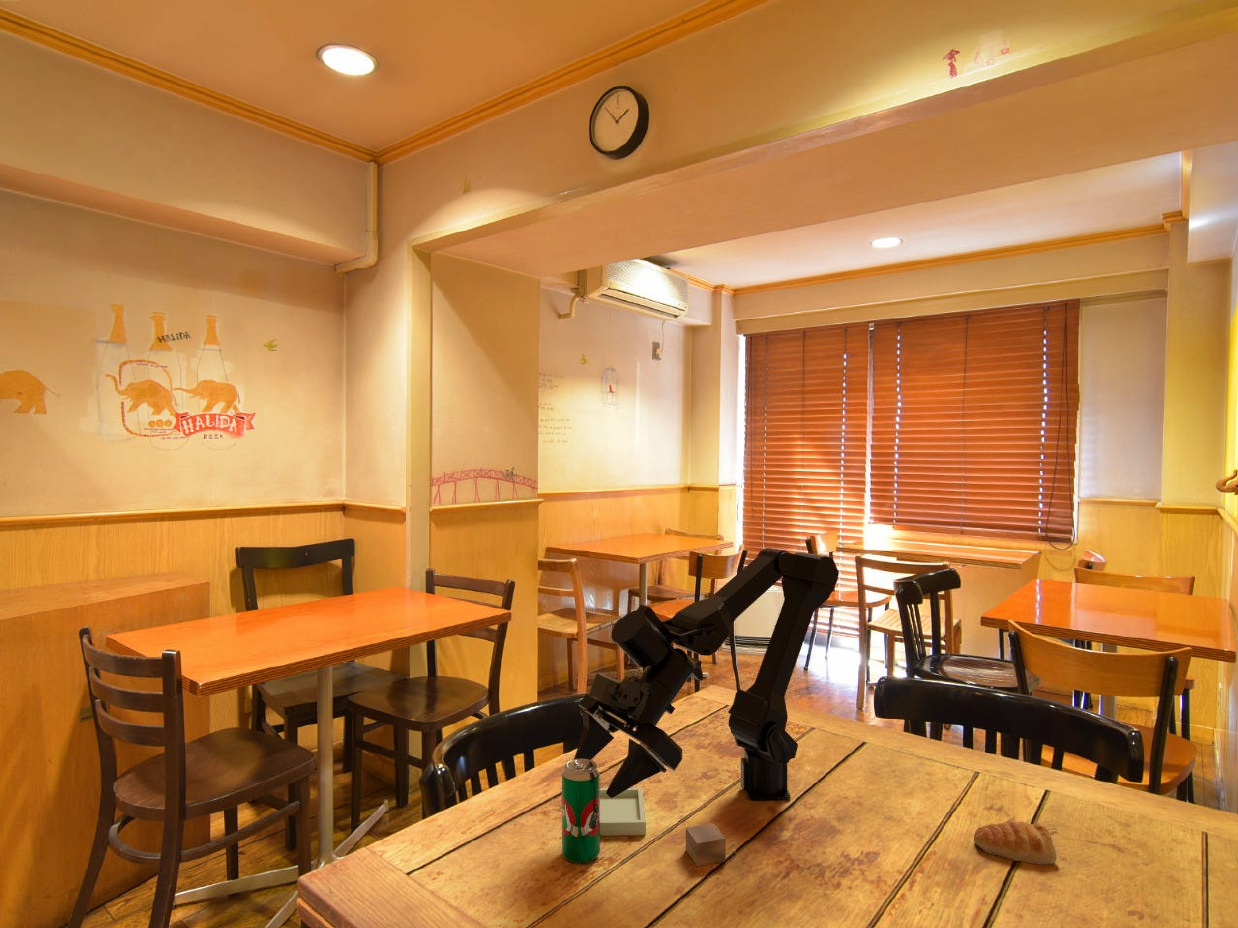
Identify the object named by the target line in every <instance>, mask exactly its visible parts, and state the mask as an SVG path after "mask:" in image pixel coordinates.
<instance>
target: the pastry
mask: <svg viewBox="0 0 1238 928" xmlns="http://www.w3.org/2000/svg"><path fill="white" fill-rule="evenodd" d="M973 842H974V843H975V844H976V846H978V847H979V848H980V849H981V850H983V851H984V852H986V853H988V854H989V855H994V856H998V855H999V857H1001V856H1002V857H1001V858H1005V859H1009V860H1011V861H1015V862H1018V861H1019V862H1024V863H1031V864H1039V865H1053V864H1054V863H1055V862H1056V861H1057V859H1058V858H1057V851H1056V847H1055V845H1054V843H1053V842H1054V841H1053V839H1052V835H1051V833H1050V831H1049V829H1048V828H1047V826H1046V825H1043V824H1041V823H1040V822H1035V823H1028V822H1024V821H1017V820H1013V819H1011V820H1007V821H1005V822H1001V823H997V824H995V823H991V824H988V825H983V826H980V827H978V828H976V830H975V831H974V834H973Z"/></svg>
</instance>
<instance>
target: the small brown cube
mask: <svg viewBox="0 0 1238 928" xmlns="http://www.w3.org/2000/svg"><path fill="white" fill-rule="evenodd" d="M726 843H727V842H726V837H725V836H724V835H723V834H722V832H720V830H719V829H718V827H717V826H716V825H715V824H714V823H708V824H701V825H695V826H689V827H688V826H687V827H685V851H686V853H687V854H688V855H689V857H690V858H691V860H692V862H693V863H694V864H695V866H696V867H700V866H701V865H702V866H707V865H708V866H709V865H712V864H713V865H714V864H720V863H724V862H726V860H727V859H726V851H727V849H726V846H727V845H726Z"/></svg>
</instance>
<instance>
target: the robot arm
mask: <svg viewBox="0 0 1238 928" xmlns="http://www.w3.org/2000/svg"><path fill="white" fill-rule="evenodd" d="M780 579H781V588H782V593H783V599H784V600H783V603H782V606H781V609H780V611H779V614H778V617H777V620H776V622H775V626H774V628H773V631H772V634H771V636H770V639H769V643H768V645H767V648H766V650H765V654H764V656H763V659H762V660H761V661H762V662H761V664H760V667H759V670H758V672H757V675H756V678H755V681H754V683H753V684H752V685H751V686H750V687H748V688H747V689H746V690H743V689H740V688H738V689H737V691H736V692H735V695H734V700H733V702H732V705H731V708H729V710H728V712H727V713H728V714H729V718H728V727H729V729H730V733H731V734H732V736H733V738H734V740H735V744H736V746H737V747H739V748H742V749H743V757H741V758H740V784H741V787H742V789H743V791H745V794H746V795H747V798H748V800H753V801H754V800H755V801H756V800H757V801H759V800H760V801H764V800H765V801H767V800H770V801H771V800H776V801H777V800H791V794H790V792H789V790H788V763H790V760H792V759H795V758H796V755H797V751H798V748H799V743H798V742H797V741H796V740H795V739H794V738H793V737H792V736H791V735H790V734H789V733H788V731H786V727H787V722H788V720H789V718H788V717H789V716H788V710H787V703H786V698H785V697H786V693H787V690H788V687H789V684H790V682H791V680H792V679H791V678H792V676H793V673H794V670H795V668H796V664H797V661H798V658H799V656H800V652H801V650H802V647H803V644H804V641H805V638H806V636H807V633H808V629H809V627H810V624H811V620H812V618H813V616H814V613H815V611H816V610H817V609H818V608H819V607H821V606H822V605H823V604H824V603H826V601H827V600H828V599H829V598H830V597H831V594H832V592H833V591H834V589H835V586H836V584H837V582H838V579H839V569H838V567H837V564H836V561H834V559H833V558H832V557H830V556H827V555H822V554H816V553H807V552H802V551H800V552H799V551H797V552H795V553H793V552H789V551H788V550H786V549H778V548H772V547H766V548H763V549H761V550H760V551H759V552H758V553H757V556H756V557H755V558H754V559H753V560H752V561H751V562H750V563H749V564H747V565H746V566H745V567H744V568H743V569H741V570H740V571H739V572H738V573H737V574H736V575H734V576H733V577H732V578H731V579H730V580H729V581H727V582H726V584H724V585H723V586H722V587H720V589H718V591H716V592H715V593H714V594H713V595H711V596H709V597H707V598H704V599H700V600H697V601H694V602H691V603H690V604H689V605H686V606H685V607H683V608H682V609H680V610H678V611H677V612H676V613H675V614H674V615H673V616H672V617H671V618H668V619H665V620H661V619H660V618H659V617H658V616H657V613H656V612H655V611H654V610H653V609H652V608H651V606H648V605H645V604H640V605H639V606H638V608H637V609H636V610H633V611H629V612H628V613H626V614H625V615H624V616H623V617H621V618H619V619H618V620H617V621H616V623H615V624H614V626H613V628H612V630H611V639H612V641H613V642H614V643H615V644H616V645H617V646H618V647H619V648H620V649H621V650H622V651H623V652H624V653H625V654H626V655H627V656H628V657H629V658H630V659H631V660H632V662H634V663H635V664H636V665H637V667H640V668H644V669H643V671H642V673H641V674H640V676H638V677H637V676H634V675H632V676H629V678H627V677H625V678H623V679H622V680H621V681H620V680H619V679H616V678H613V677H611V676H608V675H604V674H602V673H599V672H596V673H595V676H594V678H593V681H592V683H591V686H590V689H589V691H588V692H587V693H585V694H584V696H583V697H582V698H581V700H580V702H579V703H578V706H579V707H580V708H581V709H580V711H579V712H580V715H581V717H582V721H583V729H582V733H581V737H580V740H579V743H578V745H577V749H576V752H575V755H574V758H573V760H574V759H589V760H592V759H593V758H595V757H596V756H597V755H598V754H599V753H600V752H601V751H602V750H604V748H606V747H607V746H608V745H609V744H610V743H611V742H612V741H614V739H615V736H614V735H612V734H614V733H616V732H618V731H621V732H622V733H624V734H626V735H627V736H629V737H631V738H632V739H631V738H628V747H627V749H628V750H627V756H626V757H625V759H624V760H623V762H622V764H621V766H620V767H619V768H618V770H617V772H616V773H615V775H614V777H613V778H612V780H611V782H610V784H609V786H608V787H607V788H608V789H607V791H606V794H607V795H608V796H609V797H610V798H613V797H615V796H617V795H618V794H620V793H622V792H624V791H625V790H627V789H629V788H633V787H634V786H636V785H637V784H639V783H641V782H643V781H644V780H647V779H649V778H650V777H653V776H655V775H658V774H660V773H663V774H665V773H666V772H667V771H668V770H667V768H668V769H669V770H671V771H673V772H675V771H676V770H677V768H678V767H679V765H680V763H681V762H682V761H683V748H682V747H681V746H680V745H679V744H677V742H676V741H674V739H673V738H672V737H670V735H669V734H668V733H667V732H666V731H665V730H663V729H662V728H659V727H658V726H657V725H658V724H659V722H660V721H661V719H662V717H663V716H664V715H665V713H667V714H669V715H672V714H673V713H674V712H675V710H676V708H675V706H674V705H672V703H673V701H674V700H675V698H676V697H677V696H678V694H679V693H680V691H681V690H682V688H683V687H684V685H685V684H686V682H687V681H688V679H689V678H693V679H695V680H697V681H699V682H700V681H701V682H702V681H703V680H704V674H703V673H704V672H703V669H702V664H703V663H702V661H701V660H699V659H696V658H694V657H690V656H689V655H688V653H686V652H685V651H689V652H691V653H695V654H697V655H698V656H699V655H700V656H703V657H704V656H706V657H710V656H713V655H714V654H716V653H717V652H718V651H719V649H720V648H721V647H722V646H723V644H724V643H725V641H726V640H727V639H728V638H729V636H730V635H731V633H732V629H733V624H734V623H735V621H736V620H737V619H738V618H739V617H740V616H741V615H742V614H743V613H745V611H746V610H748V609H749V608H750V607H751V606H752V605H753V604H754V603H755V602H756V601H757V600H759V598H760V597H762V596H763V595H764V594H765V593H766V592H767V591H768V590H770V589H771V588H772V586H774V585H775V584H776V583H777V582H778V581H779V580H780ZM672 643H673V644H674V645H675V646H677V647H678V648H676V647H675V648H674V647H673V645H672ZM683 649H684V650H683ZM634 729H635V730H634ZM633 739H634V740H633ZM636 741H637V742H636Z"/></svg>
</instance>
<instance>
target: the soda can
mask: <svg viewBox="0 0 1238 928" xmlns="http://www.w3.org/2000/svg"><path fill="white" fill-rule="evenodd" d="M563 768H564V769H563V770H562V772H561V853H562V855H563V857H564V858H565V859H566V860H567V861H568V862H571V863H572V864H573V863H574V864H576V865H577V864H578V865H582V864H587V863H591V862H592V861H594V860H595V859H596V858H598V855H599V854H600V852H601V836H600V788H601V778H600V776H601V771H600V770H599V768H598V764H597V762H595V761H594V760H592V759H591V760H589V759H574V758H573V759H571V760H568V761H567V762H566V763H564V766H563Z"/></svg>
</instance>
